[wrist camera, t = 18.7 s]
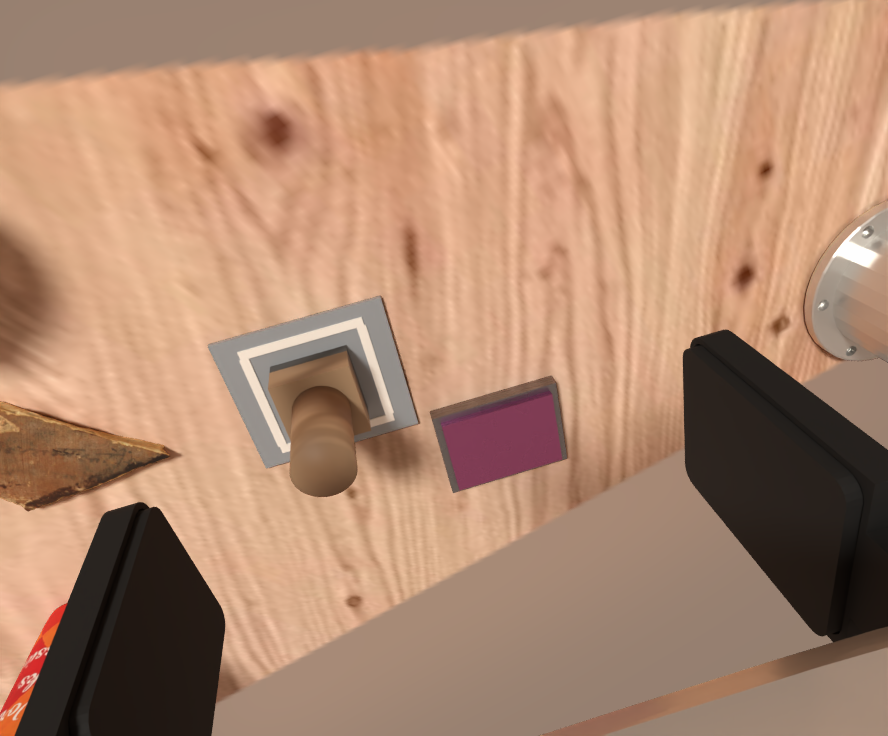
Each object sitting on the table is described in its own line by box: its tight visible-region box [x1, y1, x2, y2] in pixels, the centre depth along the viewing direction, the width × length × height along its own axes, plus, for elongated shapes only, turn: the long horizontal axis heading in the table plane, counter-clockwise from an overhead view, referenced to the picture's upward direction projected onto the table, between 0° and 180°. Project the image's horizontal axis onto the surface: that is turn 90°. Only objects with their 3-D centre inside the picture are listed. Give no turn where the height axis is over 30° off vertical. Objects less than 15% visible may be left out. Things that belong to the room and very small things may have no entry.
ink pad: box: [430, 376, 567, 493], centre depth 46 cm, size 9×7×2 cm
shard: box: [0, 402, 170, 511], centre depth 41 cm, size 11×8×2 cm
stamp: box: [268, 345, 371, 497], centre depth 38 cm, size 5×5×9 cm
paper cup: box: [0, 603, 67, 736], centre depth 42 cm, size 8×8×14 cm
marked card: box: [208, 296, 418, 468], centre depth 42 cm, size 11×10×1 cm
